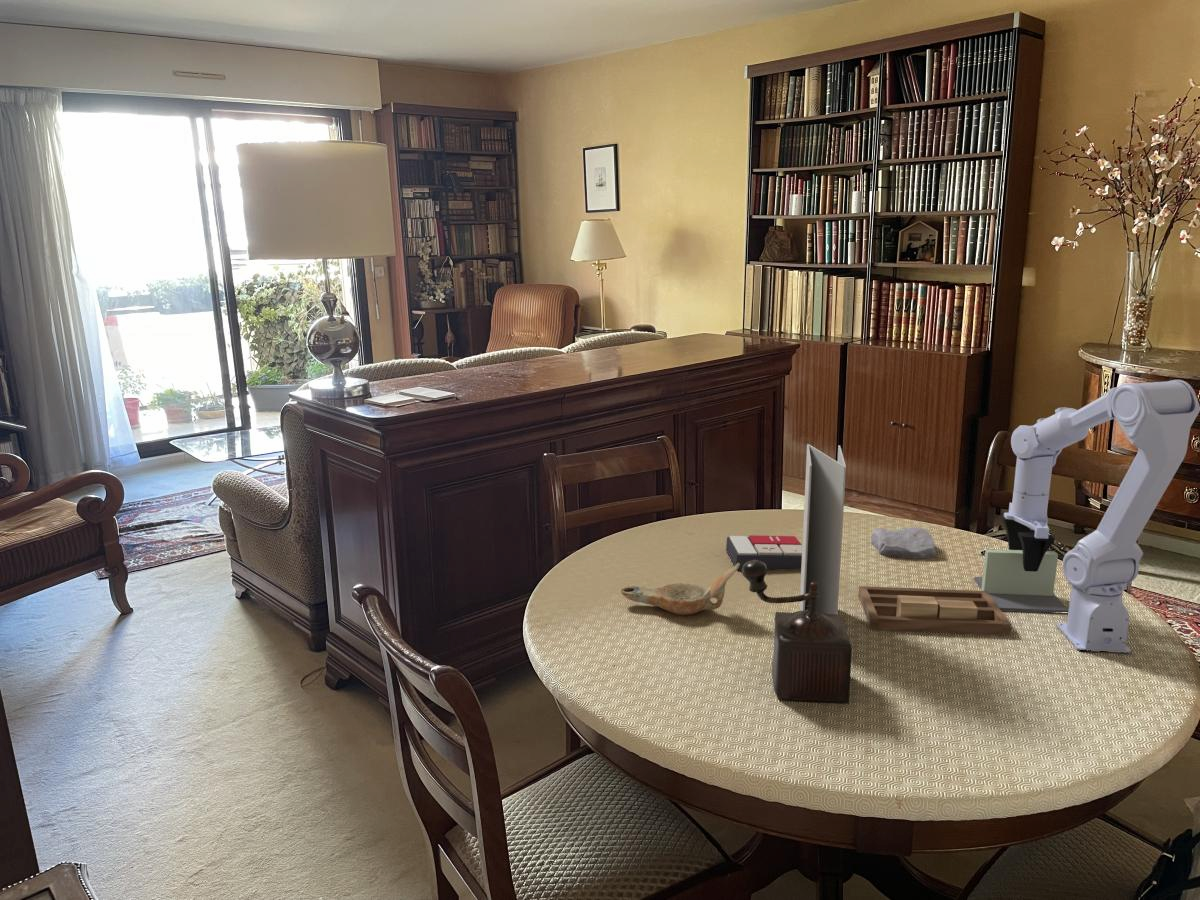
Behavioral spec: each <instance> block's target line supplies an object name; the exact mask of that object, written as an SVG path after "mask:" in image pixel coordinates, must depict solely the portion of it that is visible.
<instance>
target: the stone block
mask: <svg viewBox="0 0 1200 900" xmlns="http://www.w3.org/2000/svg"><path fill="white" fill-rule="evenodd" d="M870 537H871V538H870V541H871V545H872V546H873V547H874V548H875V549H877V551H878V552H877V553H878V554H880V555H884V556H891V557H901V558H910V559H920V560H921V559H929V558H930V559H931V558H935V557H936V547H935V541H934V540H933V537H932V536H931V533H930V532H929V531H928V530H927V529H925V528H923V527H919V526H918V527H917V526H913V527H912V526H911V527H903V528H900V529H896V530H890V529H885V528H882V527H879V528H876V529H875V530H873V532H872V534H871V536H870Z"/></svg>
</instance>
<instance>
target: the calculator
mask: <svg viewBox="0 0 1200 900" xmlns="http://www.w3.org/2000/svg"><path fill="white" fill-rule="evenodd" d="M726 551H727V553H726V555H727V554H728V555H727V557H728V556H729V557H730V559H731V561H730V563H731V562H732V563H733V565H734V566H735V565H736V564H737V563H740V566H739V568H738V569H737V570H742V567H743V565H744V564H745V563H747V562H748V561H751V560H758V561H761V562H763V563H765V565H766V567H767V570H768V569H769V570H771V569H772V571H773V570H774V569H775V571H777V570H778V569H785V570H801V565H802V543H801V542H800V541H799V539H798V538H797V537H796V536H795V535H759V534H758V535H755V534H754V535H753V534H752V535H749V536H746V535H730V536H727V537H726V545H725V552H726ZM729 557H728V558H729ZM730 559H729V560H730ZM732 563H731V564H732ZM733 565H732V566H733ZM776 569H777V570H776Z"/></svg>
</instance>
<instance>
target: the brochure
mask: <svg viewBox="0 0 1200 900" xmlns="http://www.w3.org/2000/svg"><path fill="white" fill-rule="evenodd" d="M837 447H838V448H837V460H836V459H833V458H832V457H830V456H829V455H827V454H826V453H824V452H823V451H821V450H819V449H818V448H816V447H814V446H812V445H811V444H809V443H807V444H806V461H805V484H804V485H805V487H804V505H803V525H802V526H803V529H802V543H801V545H802V565H801V569H800V571H801V572H800V591H799V593H800V594H799V595H803V594H807V593H809V591H810V587H809V586H810V584H811V582H816V583H817V584H818V589H817V591H818V593H819V596H818V597H816V612H822V613H825V614H836V615H839V614H838V613H839V612H838V610H839V609H838V608H839V595H840V593H839V592H840V580H841V577H840V576H841V562H842V561H841V559H842V542H843V528H844V527H843V525H844V509H845V494H846V493H845V491H846V474H847V466H846V462H845V458H844V455H843V451H842V448H841V444H840V445H838V446H837ZM807 605H810V598H809V599H807V600H804V601H800V602H799V611H807V609H806V606H807Z"/></svg>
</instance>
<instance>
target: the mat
mask: <svg viewBox="0 0 1200 900" xmlns="http://www.w3.org/2000/svg"><path fill="white" fill-rule="evenodd" d="M982 578H983V576H974V577H973V580H974V582H975V583H976V584H977V587H979V589H981V587H982ZM988 594H989V595H990V596H991V598H992V599H993V601H994V602H995V603H996V605H997V606H998V607H999V609H1000V610H1001V611H1002V612H1017V611H1021V612H1020V613H1022V612H1023V613H1041V612H1068V610H1069V608H1068V607H1067V606H1065V604H1064V603H1063V602H1062V601H1061V600H1060V599H1059V597H1058V596H1057V595H1055V593H1054V592H1053V596H1045V595H1020V594H994V593H988ZM1024 611H1025V612H1024Z"/></svg>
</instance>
